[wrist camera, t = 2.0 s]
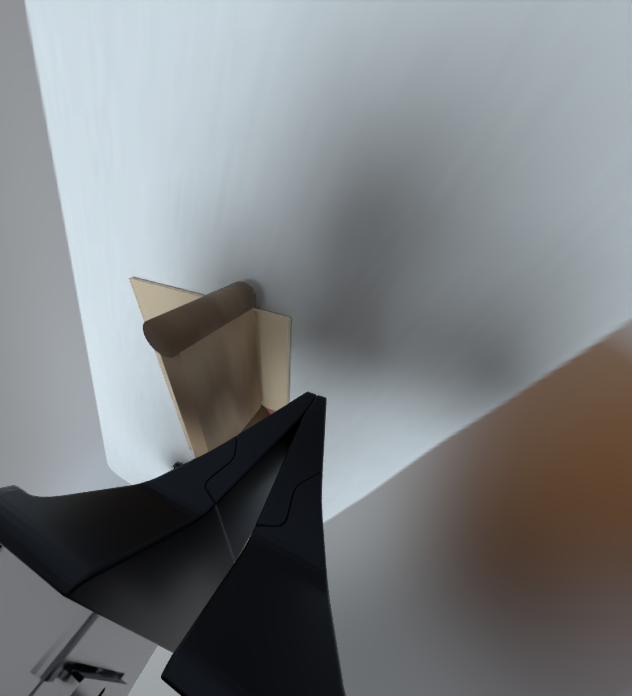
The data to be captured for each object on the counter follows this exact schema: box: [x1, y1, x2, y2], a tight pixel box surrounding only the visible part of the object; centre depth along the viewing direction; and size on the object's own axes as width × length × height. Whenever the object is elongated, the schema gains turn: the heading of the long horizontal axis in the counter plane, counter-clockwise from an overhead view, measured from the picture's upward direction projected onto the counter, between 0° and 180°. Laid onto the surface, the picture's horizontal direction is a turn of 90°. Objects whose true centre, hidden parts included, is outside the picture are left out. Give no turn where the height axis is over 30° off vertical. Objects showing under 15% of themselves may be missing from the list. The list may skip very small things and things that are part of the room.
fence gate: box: [143, 282, 261, 458], centre depth 13 cm, size 9×2×5 cm, turn 176°
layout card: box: [129, 277, 291, 450], centre depth 21 cm, size 20×12×1 cm, turn 176°
